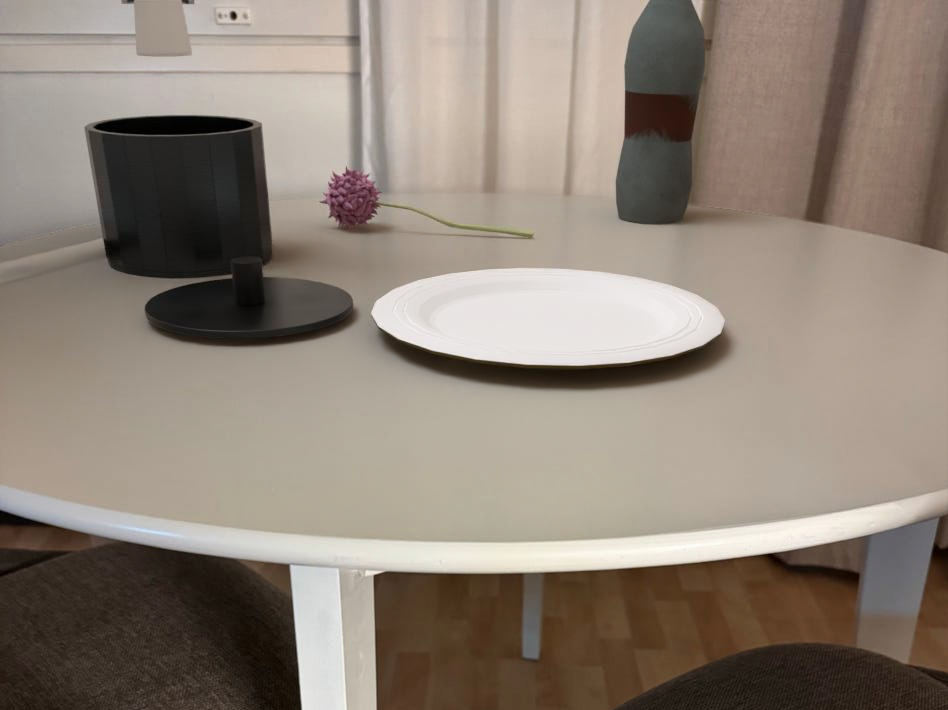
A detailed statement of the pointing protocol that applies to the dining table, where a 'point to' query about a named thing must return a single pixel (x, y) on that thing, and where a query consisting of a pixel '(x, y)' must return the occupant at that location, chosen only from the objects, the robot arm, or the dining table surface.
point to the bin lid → (248, 305)
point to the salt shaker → (161, 28)
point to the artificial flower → (358, 201)
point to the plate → (548, 318)
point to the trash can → (180, 193)
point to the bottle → (660, 112)
